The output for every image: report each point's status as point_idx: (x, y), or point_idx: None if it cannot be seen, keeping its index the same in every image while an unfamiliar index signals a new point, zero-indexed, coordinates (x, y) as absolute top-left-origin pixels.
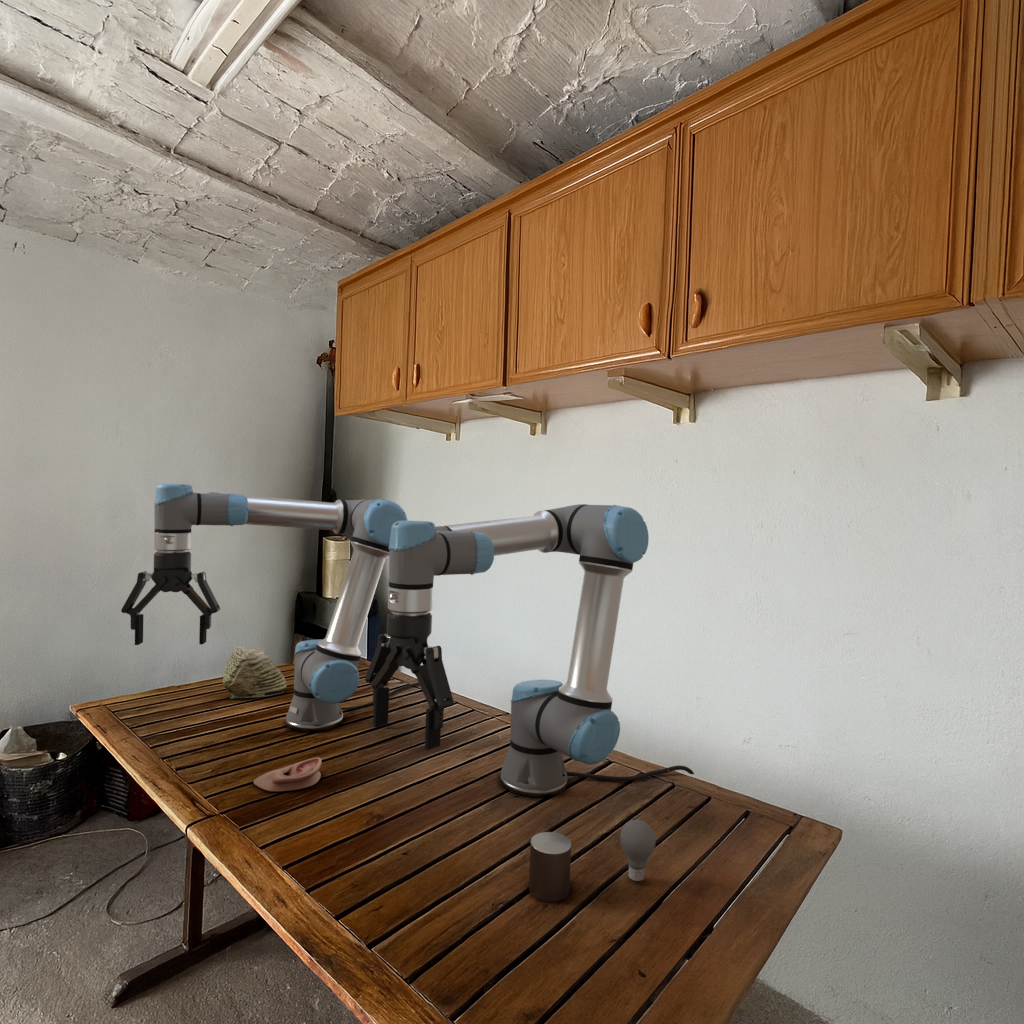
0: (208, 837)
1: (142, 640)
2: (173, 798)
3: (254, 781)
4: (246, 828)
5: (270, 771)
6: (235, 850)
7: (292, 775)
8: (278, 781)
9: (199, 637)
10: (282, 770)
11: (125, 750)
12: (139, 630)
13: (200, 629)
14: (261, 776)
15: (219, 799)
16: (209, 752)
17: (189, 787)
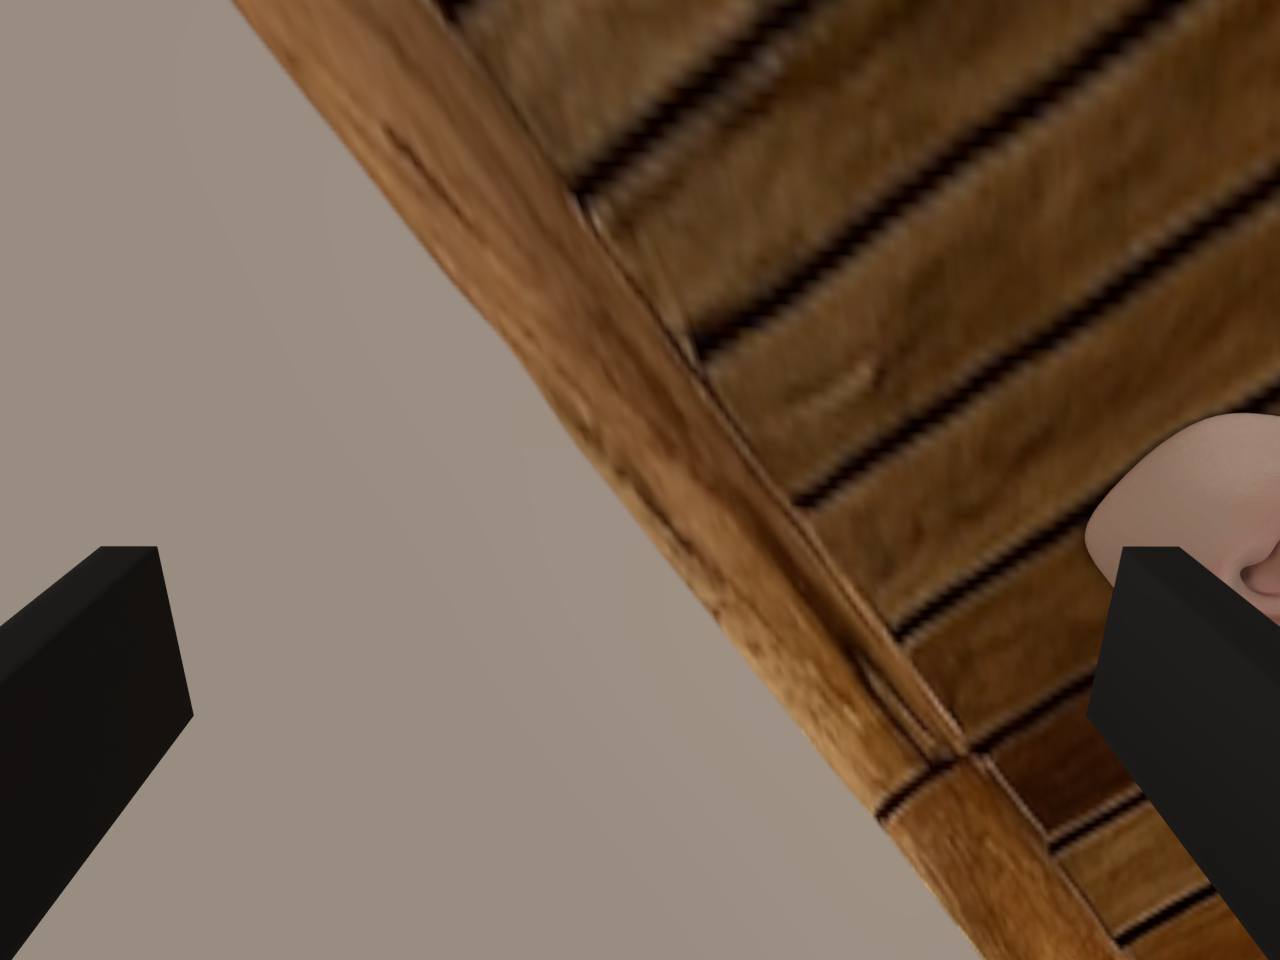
0: (955, 884)
1: (142, 583)
2: (771, 634)
3: (1092, 546)
4: (1070, 846)
5: (1169, 473)
6: (1045, 948)
7: (1276, 574)
8: None
9: (1144, 792)
10: (1242, 561)
11: (310, 47)
12: (52, 852)
13: (1247, 907)
14: (1130, 536)
15: (953, 654)
16: (813, 119)
17: (810, 545)
